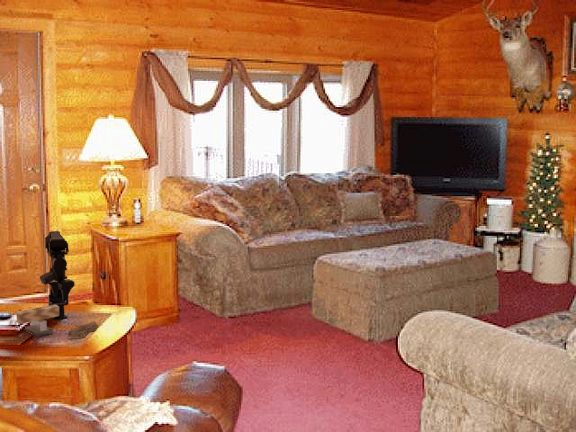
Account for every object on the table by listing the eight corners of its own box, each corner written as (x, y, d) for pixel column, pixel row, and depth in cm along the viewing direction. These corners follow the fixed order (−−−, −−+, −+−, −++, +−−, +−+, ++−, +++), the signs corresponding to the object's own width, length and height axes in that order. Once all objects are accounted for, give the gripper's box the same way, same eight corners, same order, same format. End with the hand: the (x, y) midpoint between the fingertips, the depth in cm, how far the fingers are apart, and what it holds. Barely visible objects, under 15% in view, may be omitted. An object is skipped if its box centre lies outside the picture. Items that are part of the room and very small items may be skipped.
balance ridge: (24, 330, 323) (23, 317, 322) (41, 326, 328) (41, 314, 327) (35, 336, 314) (35, 323, 313) (53, 333, 320) (52, 320, 319)
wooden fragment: (80, 341, 311) (80, 338, 310) (57, 339, 313) (57, 337, 313) (107, 323, 335) (107, 321, 335) (86, 322, 338) (86, 319, 338)
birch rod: (55, 313, 328) (55, 304, 327) (59, 315, 325) (59, 306, 324) (16, 321, 316) (16, 311, 315) (20, 323, 313) (20, 314, 312)
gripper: (32, 264, 326) (34, 297, 329) (50, 272, 313) (52, 306, 315) (55, 261, 334) (57, 293, 336) (74, 268, 320) (75, 302, 323)
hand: (59, 298), depth 327 cm, fingers open, 9 cm apart
